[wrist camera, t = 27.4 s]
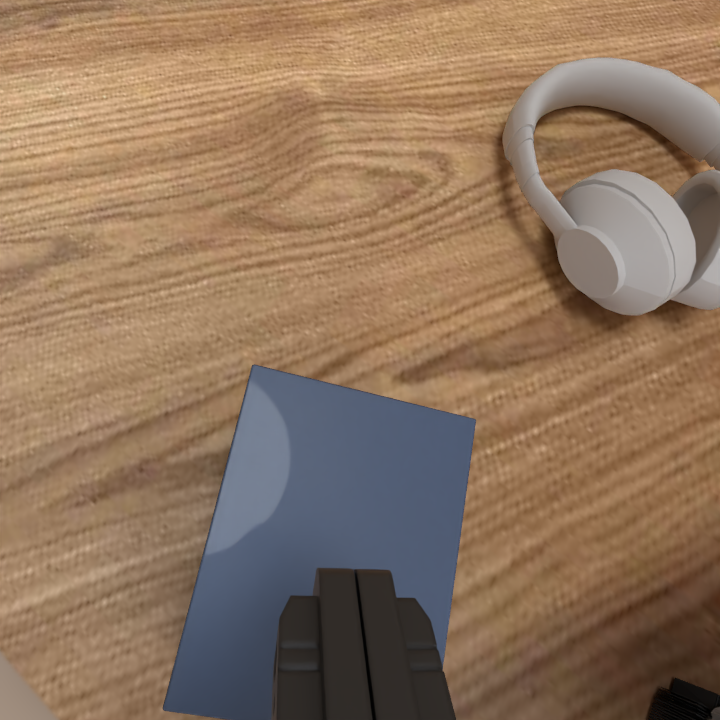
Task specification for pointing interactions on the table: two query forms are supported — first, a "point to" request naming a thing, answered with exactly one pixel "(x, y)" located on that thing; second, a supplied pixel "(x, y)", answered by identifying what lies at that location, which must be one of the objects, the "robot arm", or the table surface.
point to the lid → (316, 526)
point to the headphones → (628, 189)
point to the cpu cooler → (688, 703)
